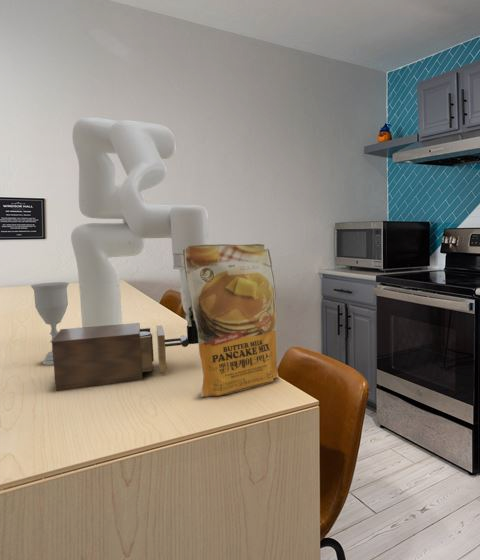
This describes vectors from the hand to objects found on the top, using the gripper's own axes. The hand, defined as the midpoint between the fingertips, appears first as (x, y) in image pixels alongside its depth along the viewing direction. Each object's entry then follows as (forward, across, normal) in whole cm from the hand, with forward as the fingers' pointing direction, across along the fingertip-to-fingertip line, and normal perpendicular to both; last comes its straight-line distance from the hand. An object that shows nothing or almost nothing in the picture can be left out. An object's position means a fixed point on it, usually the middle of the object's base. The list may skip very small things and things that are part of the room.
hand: (195, 342), depth 114 cm
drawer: (+4, 0, +11) cm, 11 cm away
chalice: (+5, +18, +28) cm, 34 cm away
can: (+3, 0, +11) cm, 12 cm away
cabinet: (+5, 0, +18) cm, 19 cm away
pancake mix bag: (+5, -20, -6) cm, 21 cm away
